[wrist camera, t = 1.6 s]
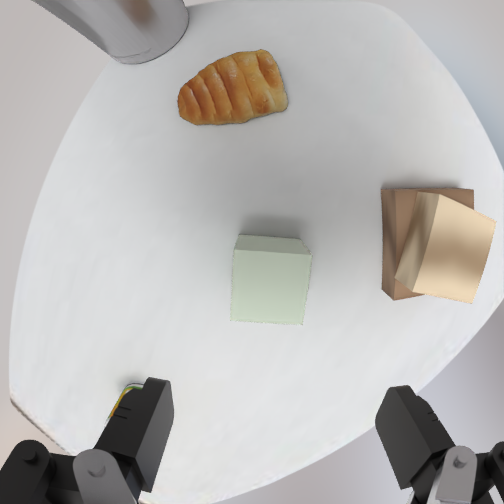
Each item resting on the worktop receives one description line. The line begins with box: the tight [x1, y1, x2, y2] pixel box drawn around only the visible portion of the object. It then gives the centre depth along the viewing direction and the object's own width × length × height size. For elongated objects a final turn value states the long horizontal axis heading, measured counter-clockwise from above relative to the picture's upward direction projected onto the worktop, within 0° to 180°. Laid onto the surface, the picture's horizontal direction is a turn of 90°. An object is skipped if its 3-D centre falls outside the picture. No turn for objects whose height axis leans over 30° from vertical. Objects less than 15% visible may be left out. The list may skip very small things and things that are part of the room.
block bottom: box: [381, 188, 474, 300], centre depth 24 cm, size 10×10×4 cm
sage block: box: [230, 234, 312, 325], centre depth 23 cm, size 6×6×6 cm
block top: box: [395, 192, 496, 304], centre depth 20 cm, size 8×8×4 cm
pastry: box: [177, 49, 288, 125], centre depth 21 cm, size 9×7×4 cm
